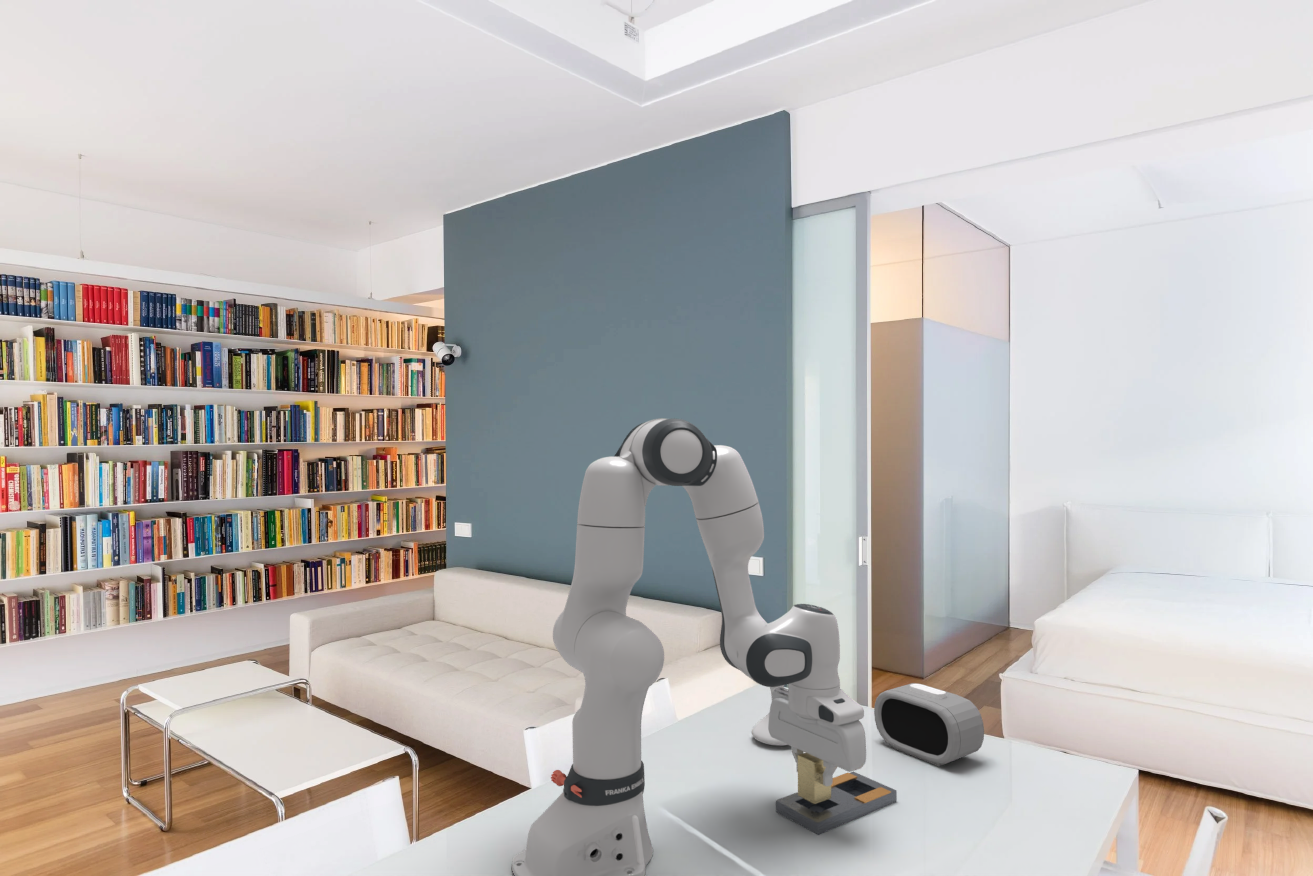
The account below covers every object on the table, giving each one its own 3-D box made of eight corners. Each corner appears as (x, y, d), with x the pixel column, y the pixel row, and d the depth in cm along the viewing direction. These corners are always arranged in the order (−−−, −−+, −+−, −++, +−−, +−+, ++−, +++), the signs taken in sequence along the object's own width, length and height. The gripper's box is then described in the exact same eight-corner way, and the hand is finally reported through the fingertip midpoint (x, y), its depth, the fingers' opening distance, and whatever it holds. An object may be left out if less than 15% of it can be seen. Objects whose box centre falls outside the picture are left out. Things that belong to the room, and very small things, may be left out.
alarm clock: (873, 742, 169) (872, 681, 169) (902, 733, 174) (901, 673, 174) (955, 775, 152) (954, 707, 152) (984, 764, 157) (983, 697, 157)
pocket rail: (818, 841, 128) (817, 821, 128) (776, 817, 136) (775, 799, 136) (896, 807, 139) (896, 789, 139) (853, 787, 147) (853, 770, 147)
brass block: (814, 804, 131) (814, 762, 132) (797, 795, 135) (797, 755, 135) (831, 798, 134) (830, 757, 134) (814, 790, 137) (814, 750, 137)
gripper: (760, 686, 141) (760, 763, 141) (845, 718, 124) (845, 805, 124) (785, 681, 145) (785, 755, 145) (872, 711, 128) (872, 795, 128)
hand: (814, 778), depth 134 cm, fingers closed on brass block, 4 cm apart
